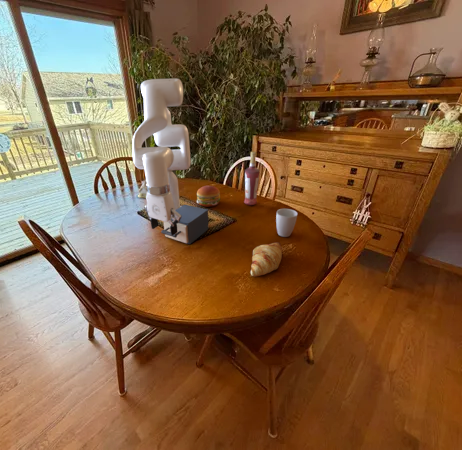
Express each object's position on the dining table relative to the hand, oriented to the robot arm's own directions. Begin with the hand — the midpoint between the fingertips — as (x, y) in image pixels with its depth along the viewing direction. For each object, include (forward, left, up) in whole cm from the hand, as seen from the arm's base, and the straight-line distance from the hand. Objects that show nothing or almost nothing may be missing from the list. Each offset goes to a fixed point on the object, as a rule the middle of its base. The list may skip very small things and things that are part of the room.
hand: (164, 230), depth 91 cm
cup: (+37, +33, -8) cm, 51 cm away
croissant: (+37, +10, -8) cm, 40 cm away
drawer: (0, +10, -7) cm, 12 cm away
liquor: (+12, +56, -8) cm, 58 cm away
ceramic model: (-50, +41, -8) cm, 65 cm away
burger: (-9, +46, -8) cm, 48 cm away
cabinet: (0, +14, -8) cm, 16 cm away
